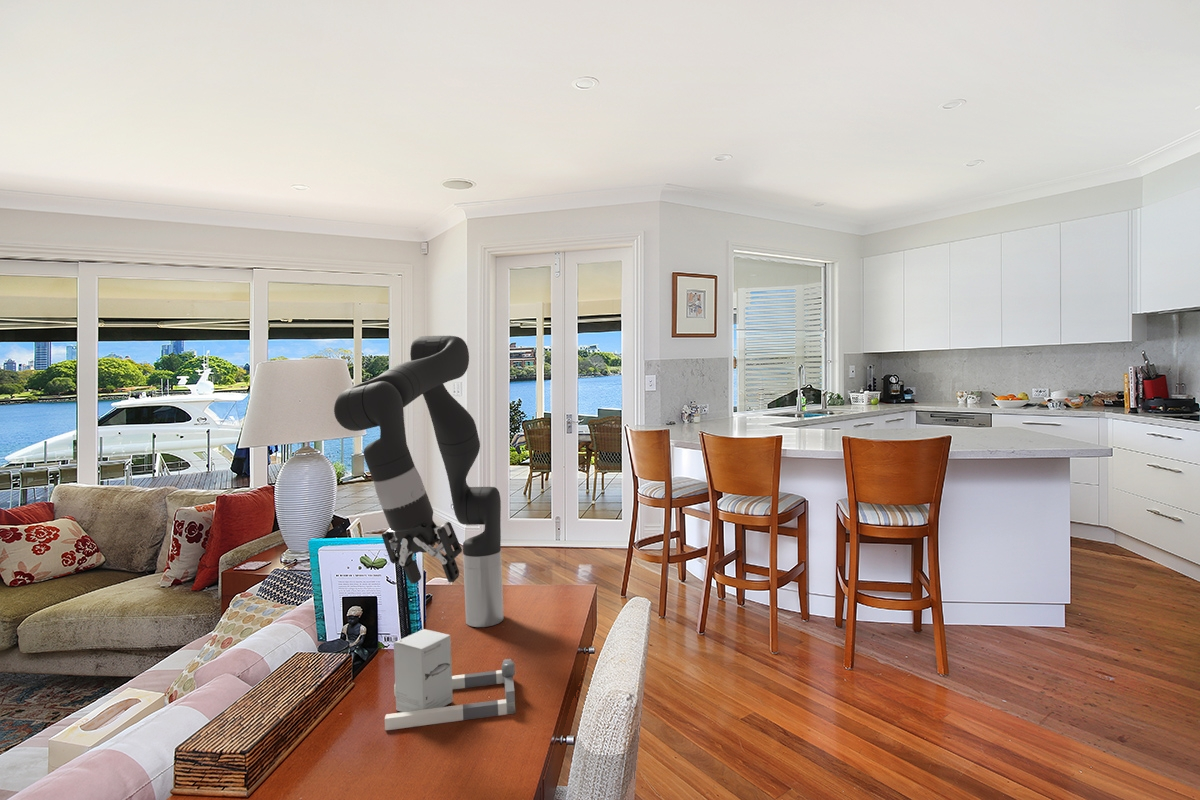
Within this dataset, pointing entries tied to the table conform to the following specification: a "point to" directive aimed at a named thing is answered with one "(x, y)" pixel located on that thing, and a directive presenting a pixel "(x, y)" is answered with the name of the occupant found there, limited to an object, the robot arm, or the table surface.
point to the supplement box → (423, 671)
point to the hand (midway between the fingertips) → (435, 580)
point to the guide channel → (466, 709)
